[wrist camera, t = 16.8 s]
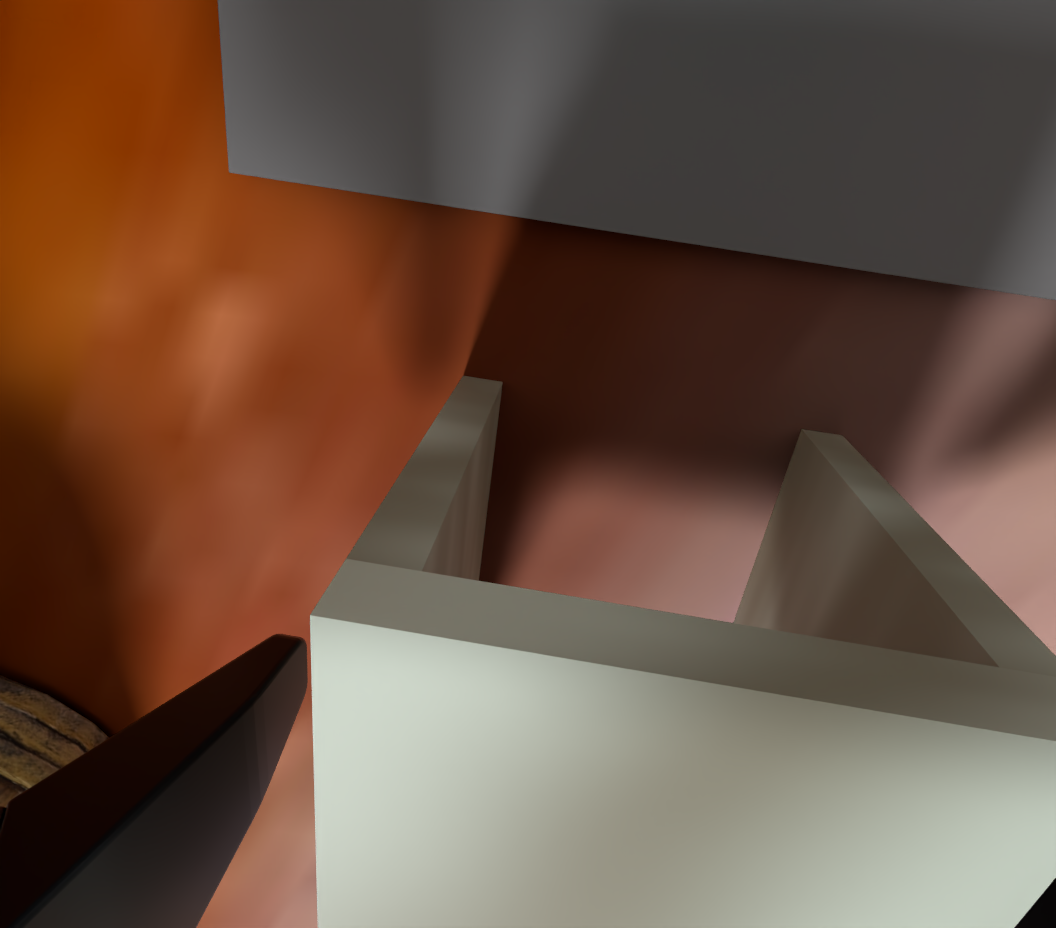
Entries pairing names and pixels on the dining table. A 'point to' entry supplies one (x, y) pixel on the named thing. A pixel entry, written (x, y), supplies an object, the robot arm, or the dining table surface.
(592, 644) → the cover
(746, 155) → the mat
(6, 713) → the wooden mug
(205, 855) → the robot arm
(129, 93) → the dining table surface
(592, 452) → the dining table surface
